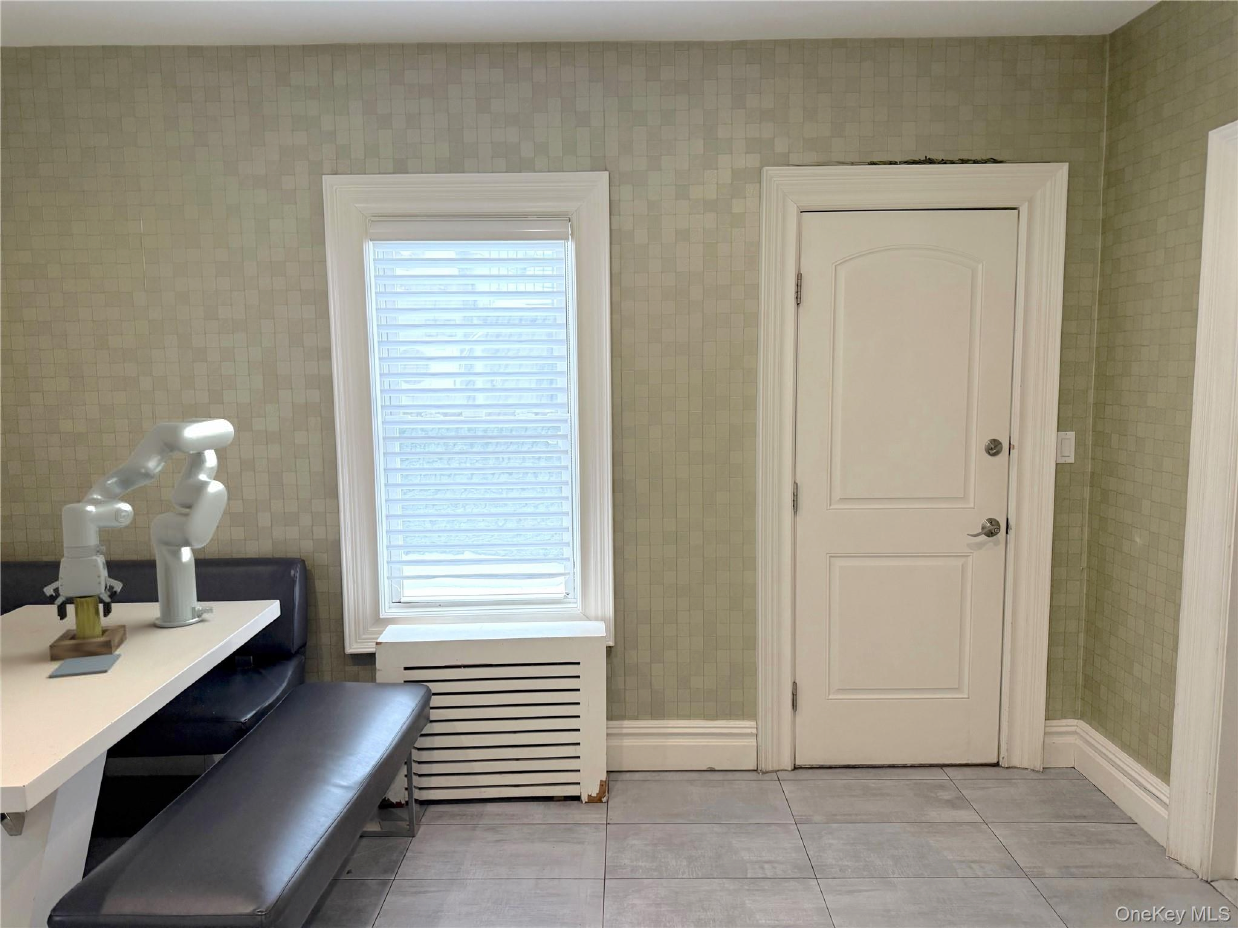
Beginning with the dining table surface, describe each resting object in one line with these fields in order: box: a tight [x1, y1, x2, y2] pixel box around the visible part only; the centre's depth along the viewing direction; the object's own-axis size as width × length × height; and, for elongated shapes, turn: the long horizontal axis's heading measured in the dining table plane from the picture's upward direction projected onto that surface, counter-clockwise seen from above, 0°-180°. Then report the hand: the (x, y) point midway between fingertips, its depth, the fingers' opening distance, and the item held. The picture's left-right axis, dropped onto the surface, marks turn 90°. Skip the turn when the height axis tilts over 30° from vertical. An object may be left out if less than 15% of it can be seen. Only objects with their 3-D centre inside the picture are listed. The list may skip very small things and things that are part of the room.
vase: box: [73, 595, 102, 640], centre depth 210 cm, size 6×6×14 cm
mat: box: [48, 653, 122, 679], centre depth 199 cm, size 12×12×1 cm
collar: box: [48, 624, 127, 662], centre depth 211 cm, size 14×14×4 cm
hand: (85, 617), depth 210 cm, fingers open, 9 cm apart
